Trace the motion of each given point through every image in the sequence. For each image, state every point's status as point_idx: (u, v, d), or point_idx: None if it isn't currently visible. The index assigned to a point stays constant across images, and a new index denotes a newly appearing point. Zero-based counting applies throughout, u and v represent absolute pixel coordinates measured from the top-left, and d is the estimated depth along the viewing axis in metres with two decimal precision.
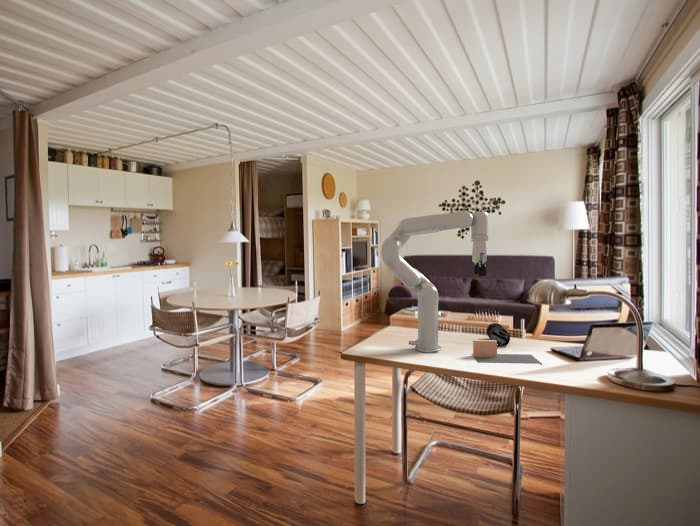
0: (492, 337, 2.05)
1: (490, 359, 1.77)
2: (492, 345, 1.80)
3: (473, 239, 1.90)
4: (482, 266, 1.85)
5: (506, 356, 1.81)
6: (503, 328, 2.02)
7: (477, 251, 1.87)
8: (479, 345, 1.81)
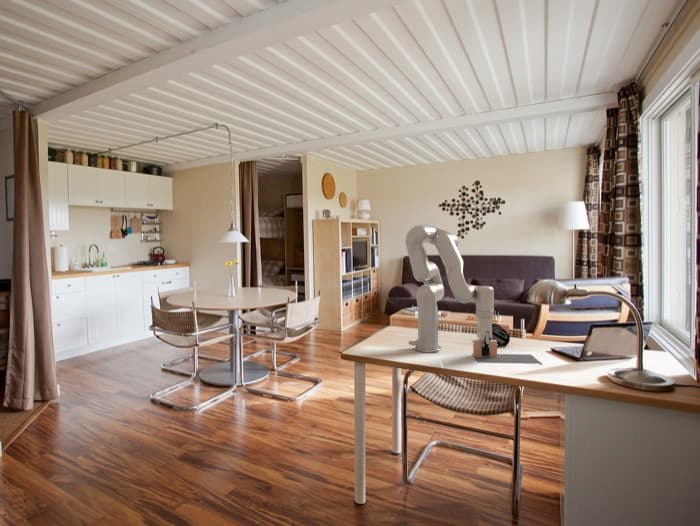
0: None
1: (490, 359, 1.77)
2: (492, 345, 1.80)
3: (478, 315, 1.80)
4: (485, 347, 1.80)
5: (506, 356, 1.81)
6: (503, 328, 2.02)
7: (482, 329, 1.77)
8: (479, 345, 1.81)
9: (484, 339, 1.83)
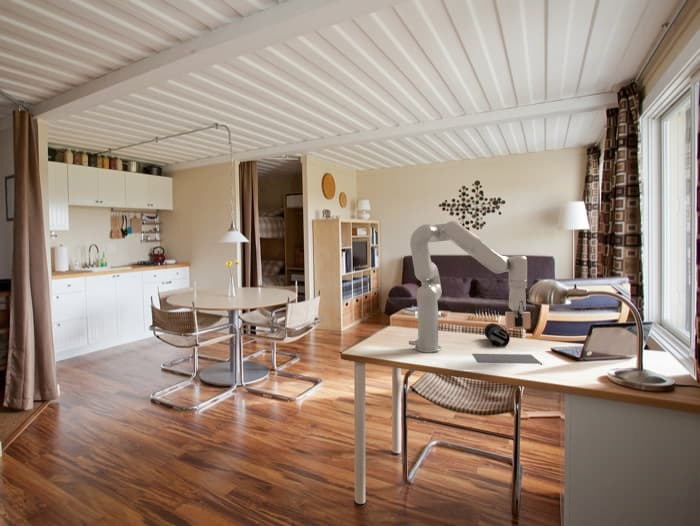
0: (491, 337, 2.04)
1: (490, 359, 1.77)
2: (525, 316, 1.78)
3: (511, 285, 1.78)
4: (519, 318, 1.77)
5: (506, 356, 1.81)
6: (502, 328, 2.01)
7: (516, 299, 1.75)
8: (512, 317, 1.79)
9: (517, 310, 1.81)
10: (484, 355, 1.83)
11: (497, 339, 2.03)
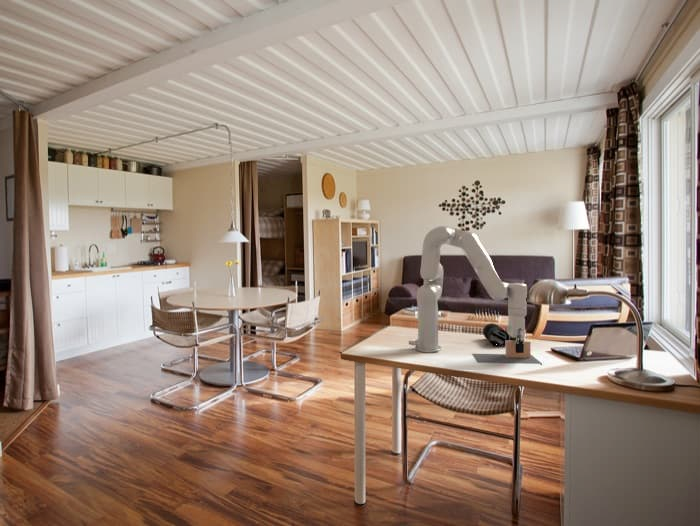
0: (491, 338, 2.03)
1: (490, 359, 1.77)
2: (525, 346, 1.79)
3: (510, 312, 1.78)
4: (520, 343, 1.74)
5: None
6: None
7: (515, 326, 1.75)
8: (512, 346, 1.79)
9: None
10: (484, 355, 1.83)
11: (497, 339, 2.03)
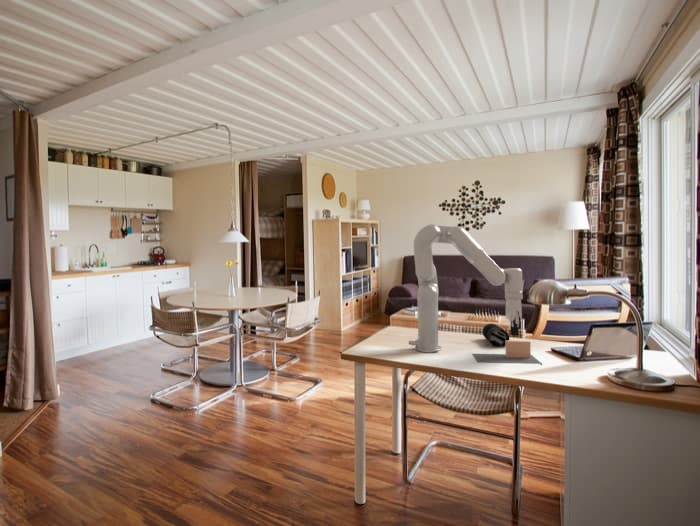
0: (491, 338, 2.03)
1: (490, 359, 1.77)
2: (525, 346, 1.79)
3: (507, 296, 1.85)
4: (514, 327, 1.85)
5: None
6: None
7: (512, 310, 1.82)
8: (512, 346, 1.79)
9: None
10: (484, 355, 1.83)
11: (496, 339, 2.03)
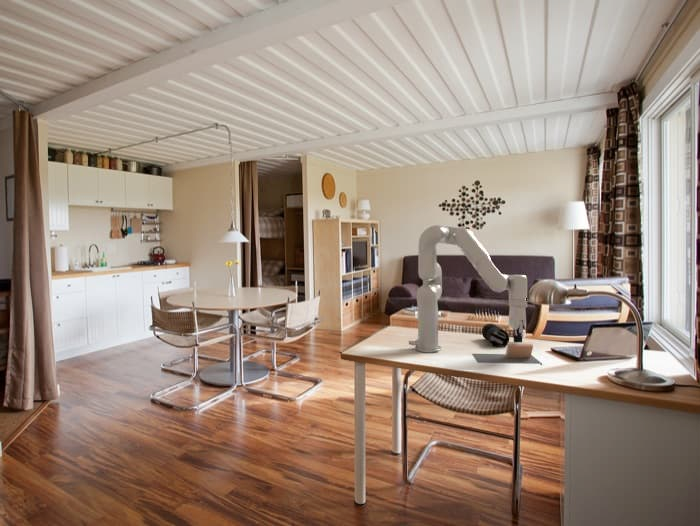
0: (490, 338, 2.03)
1: (490, 359, 1.77)
2: (527, 349, 1.76)
3: (511, 304, 1.78)
4: (518, 336, 1.78)
5: None
6: (501, 329, 2.01)
7: (516, 318, 1.75)
8: (514, 349, 1.77)
9: (517, 329, 1.80)
10: (484, 355, 1.83)
11: (496, 339, 2.03)
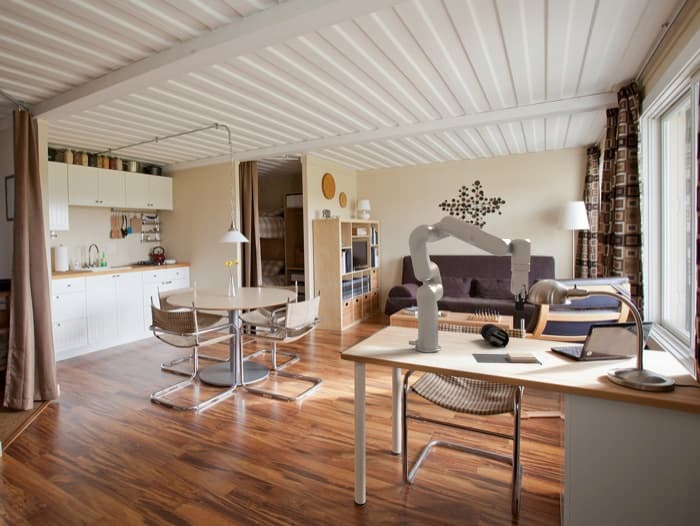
0: (490, 338, 2.02)
1: (490, 359, 1.77)
2: None
3: (513, 269, 1.73)
4: (520, 301, 1.74)
5: (506, 356, 1.81)
6: (501, 329, 2.00)
7: (518, 283, 1.70)
8: None
9: None
10: (484, 355, 1.83)
11: (496, 340, 2.02)
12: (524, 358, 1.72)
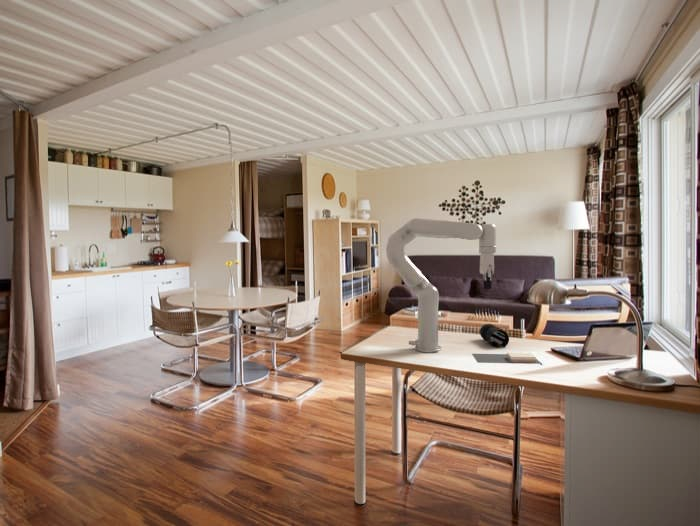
0: (490, 338, 2.02)
1: (490, 359, 1.77)
2: None
3: (481, 251, 1.92)
4: (487, 280, 1.93)
5: (506, 356, 1.81)
6: (501, 329, 2.00)
7: (485, 263, 1.89)
8: None
9: None
10: (484, 355, 1.83)
11: (495, 340, 2.02)
12: (524, 358, 1.72)
